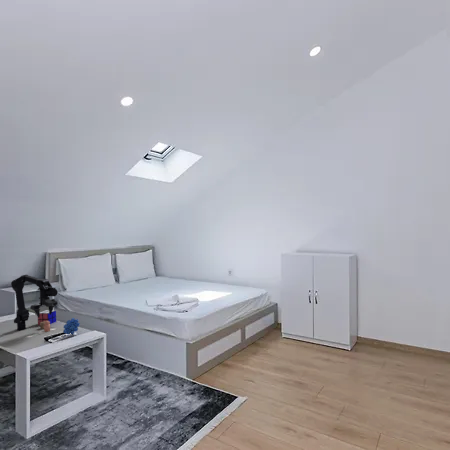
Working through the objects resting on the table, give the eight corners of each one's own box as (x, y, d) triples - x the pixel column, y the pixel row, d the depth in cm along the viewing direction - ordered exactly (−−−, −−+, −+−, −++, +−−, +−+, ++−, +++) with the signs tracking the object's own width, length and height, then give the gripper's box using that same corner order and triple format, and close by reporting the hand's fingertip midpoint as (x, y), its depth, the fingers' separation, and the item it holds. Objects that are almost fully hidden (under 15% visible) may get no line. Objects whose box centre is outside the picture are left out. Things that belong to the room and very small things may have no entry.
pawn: (43, 331, 264) (42, 321, 264) (48, 329, 267) (47, 320, 268) (46, 331, 262) (45, 321, 262) (51, 330, 265) (50, 320, 266)
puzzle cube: (48, 325, 283) (47, 313, 283) (37, 325, 285) (37, 313, 285) (56, 322, 293) (56, 310, 293) (46, 321, 295) (45, 310, 295)
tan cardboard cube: (40, 329, 273) (40, 322, 273) (46, 327, 277) (46, 320, 277) (44, 329, 271) (44, 323, 271) (50, 327, 275) (50, 321, 275)
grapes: (77, 331, 263) (77, 315, 263) (81, 333, 258) (80, 317, 258) (61, 335, 255) (60, 319, 255) (64, 337, 250) (63, 320, 250)
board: (24, 338, 253) (24, 336, 253) (53, 329, 272) (52, 328, 272) (29, 339, 250) (29, 337, 250) (57, 330, 269) (57, 328, 269)
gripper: (38, 299, 256) (38, 320, 256) (61, 294, 272) (62, 314, 272) (29, 297, 262) (30, 318, 262) (53, 293, 278) (53, 312, 278)
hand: (44, 316), depth 268 cm, fingers open, 9 cm apart
